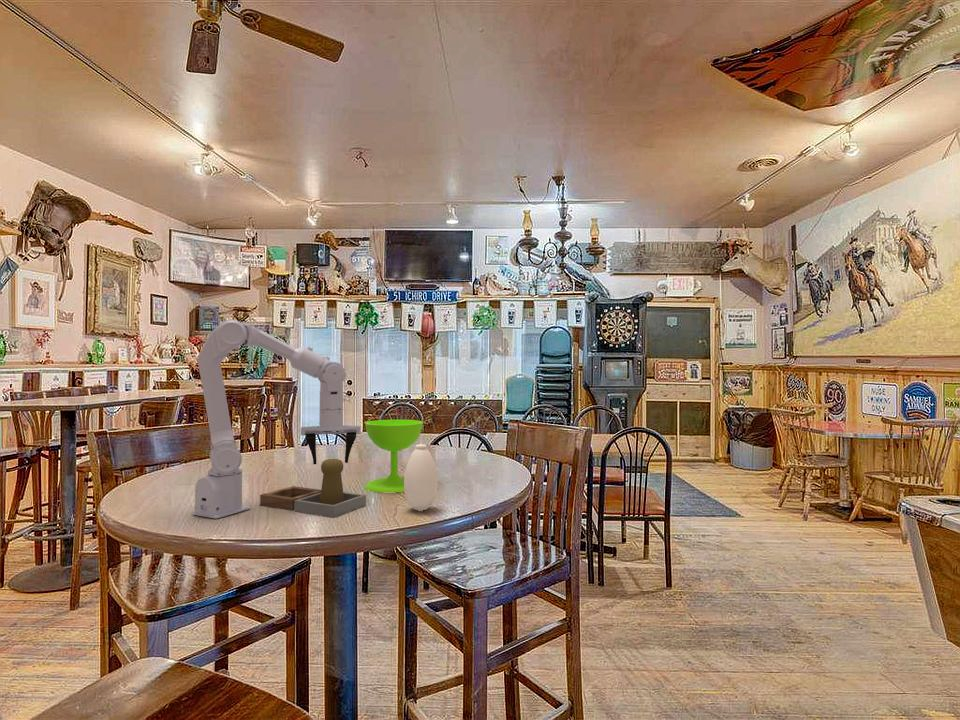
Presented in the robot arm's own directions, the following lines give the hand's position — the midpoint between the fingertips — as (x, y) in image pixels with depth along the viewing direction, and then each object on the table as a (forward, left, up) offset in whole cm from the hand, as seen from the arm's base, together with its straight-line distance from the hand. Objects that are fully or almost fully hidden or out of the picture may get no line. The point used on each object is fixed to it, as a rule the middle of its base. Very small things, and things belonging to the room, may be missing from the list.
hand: (330, 462), depth 135 cm
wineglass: (+19, -6, -9) cm, 22 cm away
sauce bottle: (+1, -26, -9) cm, 28 cm away
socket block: (-7, +6, -9) cm, 13 cm away
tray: (-7, -6, -9) cm, 13 cm away
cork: (-6, -6, -9) cm, 12 cm away
